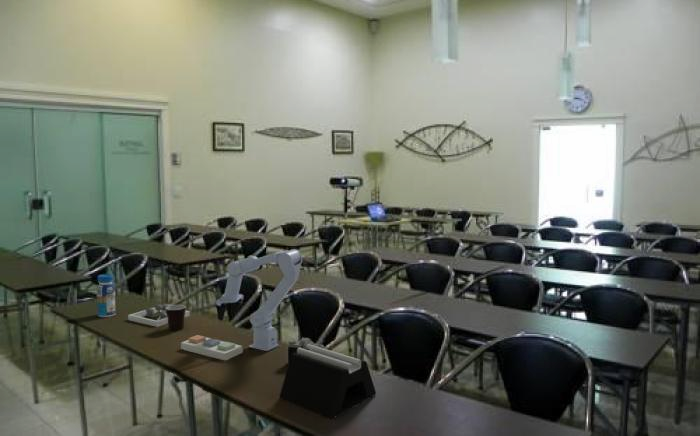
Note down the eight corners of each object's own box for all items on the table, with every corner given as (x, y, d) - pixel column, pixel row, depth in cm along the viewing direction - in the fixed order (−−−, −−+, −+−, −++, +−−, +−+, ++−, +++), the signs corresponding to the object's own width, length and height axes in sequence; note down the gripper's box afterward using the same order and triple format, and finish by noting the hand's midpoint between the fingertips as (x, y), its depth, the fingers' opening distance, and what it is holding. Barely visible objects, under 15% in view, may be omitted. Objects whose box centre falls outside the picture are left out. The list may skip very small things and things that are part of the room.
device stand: (325, 378, 197) (325, 337, 195) (375, 395, 182) (376, 352, 181) (279, 399, 179) (279, 355, 178) (331, 420, 165) (331, 372, 164)
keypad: (242, 352, 220) (242, 345, 220) (225, 360, 212) (225, 353, 212) (199, 342, 232) (199, 335, 232) (181, 349, 224) (181, 342, 224)
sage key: (235, 348, 219) (235, 343, 219) (226, 352, 215) (226, 347, 214) (226, 346, 221) (226, 341, 221) (217, 350, 217) (217, 345, 217)
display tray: (189, 316, 270) (189, 311, 270) (157, 326, 253) (156, 321, 253) (161, 310, 280) (161, 305, 280) (128, 320, 263) (128, 315, 262)
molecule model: (148, 332, 267) (148, 324, 258) (140, 317, 269) (139, 308, 260) (177, 318, 274) (178, 310, 265) (169, 303, 277) (169, 294, 268)
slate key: (220, 345, 223) (220, 340, 223) (211, 348, 219) (211, 343, 218) (211, 342, 225) (211, 338, 225) (202, 346, 221) (202, 341, 221)
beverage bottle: (97, 313, 273) (95, 274, 271) (115, 311, 276) (114, 272, 274) (97, 318, 265) (95, 277, 263) (116, 316, 269) (114, 276, 267)
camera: (328, 363, 210) (328, 337, 209) (322, 369, 204) (322, 343, 203) (292, 358, 214) (292, 334, 213) (285, 365, 208) (285, 339, 207)
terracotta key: (205, 341, 227) (205, 336, 227) (197, 344, 223) (197, 340, 222) (197, 339, 229) (197, 334, 229) (188, 342, 225) (188, 338, 225)
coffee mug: (182, 331, 246) (182, 310, 245) (163, 331, 246) (163, 309, 245) (190, 324, 257) (190, 303, 256) (172, 323, 258) (171, 303, 256)
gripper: (237, 282, 239) (231, 310, 241) (213, 287, 226) (207, 317, 229) (249, 288, 235) (242, 316, 238) (226, 293, 223) (219, 324, 226)
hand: (226, 317), depth 233 cm, fingers open, 7 cm apart
